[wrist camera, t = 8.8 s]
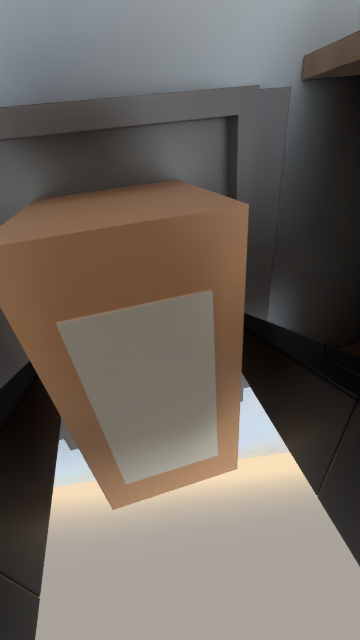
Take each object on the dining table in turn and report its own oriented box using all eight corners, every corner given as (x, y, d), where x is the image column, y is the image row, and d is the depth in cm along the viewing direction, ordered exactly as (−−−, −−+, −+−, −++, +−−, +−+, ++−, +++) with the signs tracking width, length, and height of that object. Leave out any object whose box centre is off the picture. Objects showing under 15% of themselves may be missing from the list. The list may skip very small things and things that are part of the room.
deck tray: (15, 447, 15) (-19, 569, 10) (-265, 92, 6) (-1039, -34, 2) (251, 382, 17) (303, 460, 13) (276, 55, 8) (455, -41, 4)
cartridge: (34, 199, 8) (-34, 252, 4) (178, 179, 9) (251, 205, 5) (108, 397, 13) (112, 513, 9) (195, 374, 14) (237, 471, 10)
